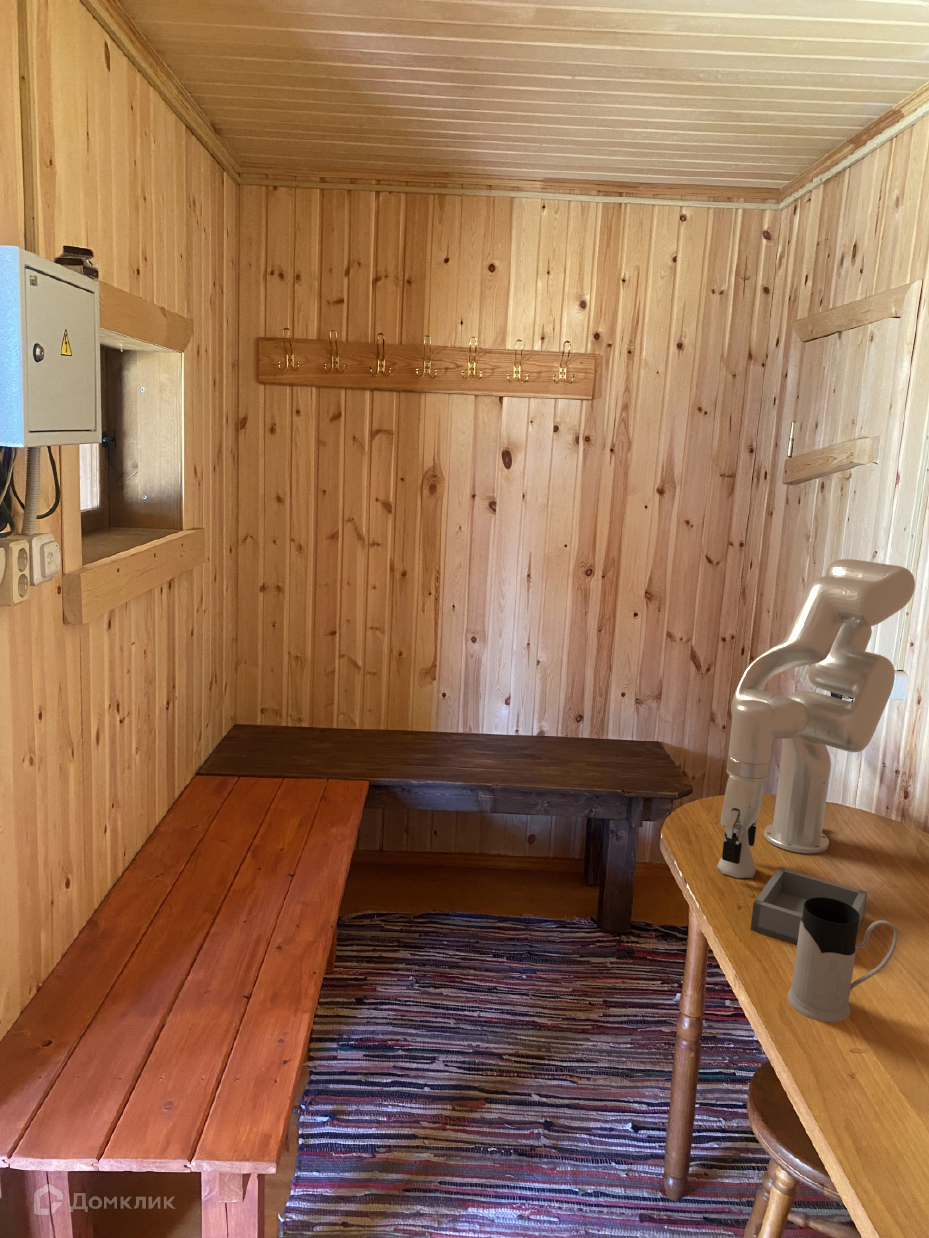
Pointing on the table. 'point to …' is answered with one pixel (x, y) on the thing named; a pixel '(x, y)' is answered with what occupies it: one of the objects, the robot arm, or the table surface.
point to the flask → (746, 862)
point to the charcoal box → (796, 902)
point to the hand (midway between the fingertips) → (738, 852)
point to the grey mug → (828, 959)
